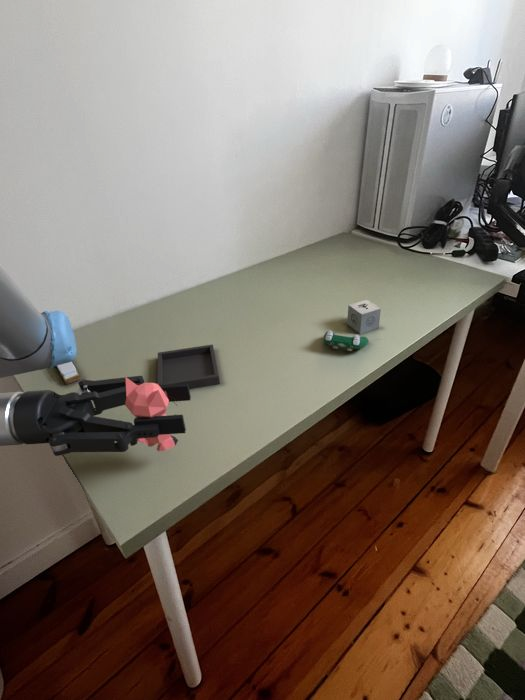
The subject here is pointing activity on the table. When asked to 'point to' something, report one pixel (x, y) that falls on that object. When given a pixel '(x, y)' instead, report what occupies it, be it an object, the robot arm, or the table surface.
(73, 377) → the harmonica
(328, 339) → the green elongated piece
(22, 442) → the robot arm
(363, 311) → the dice cube
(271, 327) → the table surface
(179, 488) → the table surface
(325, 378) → the table surface
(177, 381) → the black tray
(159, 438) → the cat figurine
